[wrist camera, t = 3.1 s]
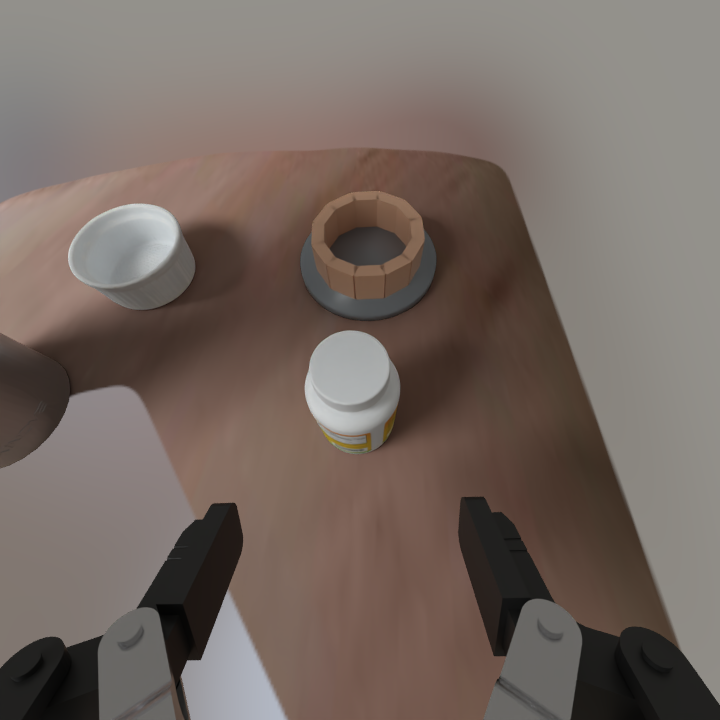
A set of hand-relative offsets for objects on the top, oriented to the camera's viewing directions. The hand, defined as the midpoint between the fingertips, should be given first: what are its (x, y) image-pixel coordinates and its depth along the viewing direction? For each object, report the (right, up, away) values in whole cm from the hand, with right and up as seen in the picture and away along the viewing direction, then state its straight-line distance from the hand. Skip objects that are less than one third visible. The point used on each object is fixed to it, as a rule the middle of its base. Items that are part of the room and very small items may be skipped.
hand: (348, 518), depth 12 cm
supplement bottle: (0, +1, +13) cm, 13 cm away
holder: (+1, +14, +19) cm, 24 cm away
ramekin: (-19, +13, +20) cm, 30 cm away
